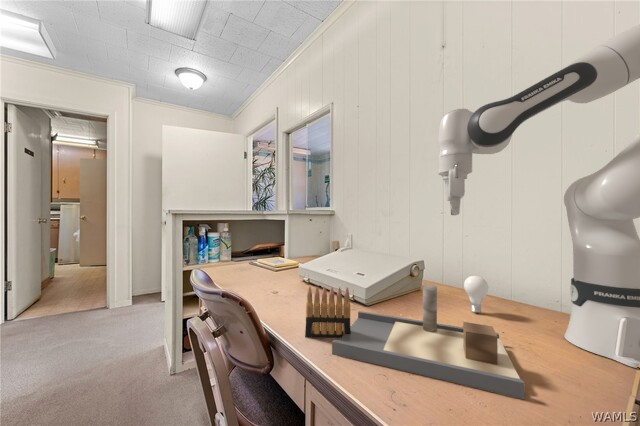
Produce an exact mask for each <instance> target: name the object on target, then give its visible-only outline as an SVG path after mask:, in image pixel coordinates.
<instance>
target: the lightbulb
mask: <svg viewBox="0 0 640 426" xmlns="http://www.w3.org/2000/svg"><path fill="white" fill-rule="evenodd" d="M463 289H464V290H465V293H466V294H467V296H468V298H469V302H470V310H471V312H473V313H475V314H479V313H482V304H483V300H484V298H485V296H486V295H487V294H488V292H489V284H488V282H487V280H486V279H485V278H483V277H481V276H479V275H470V276H467V278H465V280H464V282H463Z"/></svg>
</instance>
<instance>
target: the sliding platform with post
mask: <svg viewBox="0 0 640 426" xmlns="http://www.w3.org/2000/svg"><path fill="white" fill-rule="evenodd" d="M437 290H438V287H437V286H436V285H430V284H424V285H423V286H422V321H423V326H419V325H413V324H407V323H401V322H395V324H394V326H393V328H392V331H391V333H390V335H389V338H388V340H387V342H386V345H385V347H384V349H383V350H385V351H390V352H395V353H399V354H404V355H409V356H414V357H418V358H423V359H428V360H432V361H437V362H442V363H446V364H451V365H456V366H461V367H465V368H470V369H475V370H479V371H484V372H489V373H493V374H498V375H503V376H508V377H512V378H517V379H521V377H520V376H519V374H518V372H517V370H516V368H515V366H514V364H513V362H512V360H511V357H510V356H509V354H508V352H507V351H506V349H505V346H504V345H503V343H502V340H501V339H500V338H499V339H498V338H497V347H498V365H496V364H491V363H486V362H481V361H476V360H471V359H466V358H465V353H464V347H463V333H461V332H455V331H449V330H443V329H437V322H438V317H437V316H438V314H437V313H438V291H437Z"/></svg>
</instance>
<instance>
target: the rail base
mask: <svg viewBox="0 0 640 426" xmlns="http://www.w3.org/2000/svg"><path fill="white" fill-rule="evenodd" d="M395 322H401V323H407V324H413V325H419V326H423V320H418V319H412V318H406V317H399V316H394V315H387V314H380V313H373V312H369V311H364V310H363V311H361V310H359V311H358V312H357V318H356V319H355V320H354V322H353V323H352V324H351V325H350V329H351V334H344V335H343V336H342V338H339V340H338V339H333V340H332V341H331V354H332V355H335V356H339V357H344V358H348V359H351V360H356V361H361V362H364V363H369V364H373V365H377V366H382V367H385V368H389V369H394V370H399V371H402V372H406V373H411V374H415V375H419V376H424V377H426V378H427V377H428V378H433V379H437V380H440V381H444V382H449V383H453V384H457V385H462V386H466V387H469V388H473V389H479V390H482V391H486V392H492V393H496V394H499V395H504V396H508V397H512V398H516V399H520V400H525V382H524V379H521V378H520V379H517V378H512V377H508V376H503V375H498V374H493V373H489V372H484V371H479V370H475V369H470V368H465V367H461V366H456V365H451V364H446V363H442V362H437V361H432V360H428V359H423V358H418V357H414V356H409V355H404V354H399V353H395V352H390V351H385V350H383V349H384V347H385V345H386V342H387V340H388V338H389V335H390V333H391V331H392V328H393V326H394V324H395ZM437 329H443V330H449V331H455V332H461V333H463V327H462V326H455V325H451V324H443V323H439V322H438V323H437ZM496 335H497V338H498V339H500V334H499V333H498V332H496Z"/></svg>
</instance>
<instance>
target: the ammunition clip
mask: <svg viewBox="0 0 640 426" xmlns="http://www.w3.org/2000/svg"><path fill="white" fill-rule="evenodd" d="M334 291H335V290H334V288H333V286H331V287H330V290H329V295H328V296H327V289H326V287H325V286H323V288H322V292H321V297H320V290H319V286H316V287H315V290H314V297H313V291H312V288H311V286H309V287H308V289H307V294H306V305H305V330H304V332H305V333H304V338H320V339H321V338H322V339H341V338H342V336H343V335H344V334H351V329H350V327H351V303H350V301H351V300H350V292H349V288H348V287H346V288H345V291H344V300H343V294H342V289H341V287H340V286H339V287H338V289H337V293H336V302H335V292H334ZM313 298H314V300H313ZM320 298H321V300H320ZM335 303H336V304H335Z"/></svg>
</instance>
